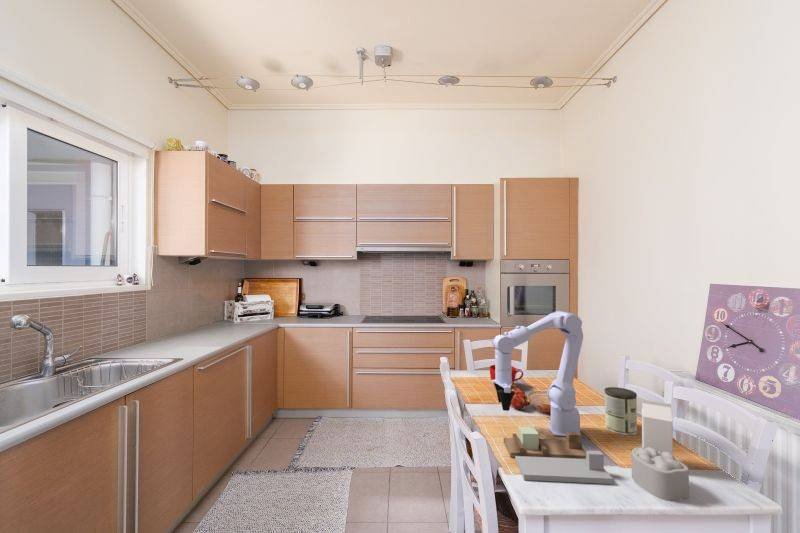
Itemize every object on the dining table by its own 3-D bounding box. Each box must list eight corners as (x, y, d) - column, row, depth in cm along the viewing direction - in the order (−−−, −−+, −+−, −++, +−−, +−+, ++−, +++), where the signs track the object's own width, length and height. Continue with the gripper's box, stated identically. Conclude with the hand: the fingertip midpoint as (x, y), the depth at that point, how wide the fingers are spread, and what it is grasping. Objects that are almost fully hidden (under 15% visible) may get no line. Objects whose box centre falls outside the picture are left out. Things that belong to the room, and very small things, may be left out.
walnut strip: (575, 444, 118) (575, 427, 118) (589, 460, 108) (589, 441, 108) (503, 442, 120) (503, 424, 120) (510, 457, 110) (510, 438, 110)
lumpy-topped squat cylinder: (662, 502, 89) (661, 468, 89) (621, 473, 102) (620, 443, 102) (695, 497, 91) (695, 464, 91) (651, 469, 104) (651, 440, 104)
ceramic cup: (527, 391, 171) (527, 371, 171) (493, 391, 171) (493, 371, 172) (519, 383, 184) (518, 364, 184) (487, 383, 184) (487, 364, 185)
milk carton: (673, 473, 102) (672, 407, 102) (643, 466, 106) (642, 403, 106) (670, 461, 108) (669, 400, 108) (642, 455, 112) (641, 396, 112)
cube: (534, 442, 117) (533, 427, 117) (538, 449, 112) (538, 434, 112) (518, 441, 117) (518, 426, 117) (522, 449, 112) (522, 433, 112)
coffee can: (608, 420, 138) (607, 385, 138) (639, 428, 131) (639, 391, 131) (601, 429, 130) (601, 391, 130) (634, 438, 123) (633, 398, 123)
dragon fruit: (514, 405, 158) (524, 420, 146) (499, 395, 157) (508, 409, 145) (526, 391, 157) (536, 404, 145) (511, 380, 156) (521, 393, 144)
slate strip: (595, 464, 106) (595, 444, 106) (612, 484, 96) (612, 462, 96) (515, 460, 108) (515, 441, 108) (524, 479, 98) (524, 458, 98)
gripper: (488, 363, 135) (489, 398, 134) (495, 374, 120) (496, 413, 120) (507, 363, 134) (507, 399, 134) (516, 374, 119) (517, 414, 119)
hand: (503, 406), depth 127 cm, fingers open, 7 cm apart
